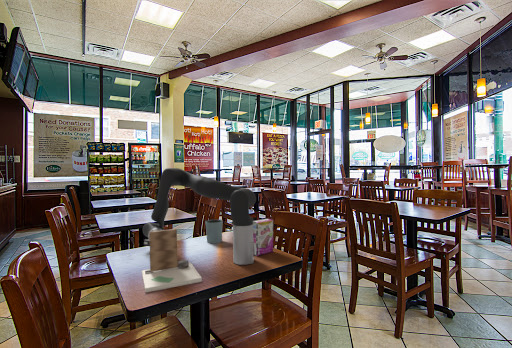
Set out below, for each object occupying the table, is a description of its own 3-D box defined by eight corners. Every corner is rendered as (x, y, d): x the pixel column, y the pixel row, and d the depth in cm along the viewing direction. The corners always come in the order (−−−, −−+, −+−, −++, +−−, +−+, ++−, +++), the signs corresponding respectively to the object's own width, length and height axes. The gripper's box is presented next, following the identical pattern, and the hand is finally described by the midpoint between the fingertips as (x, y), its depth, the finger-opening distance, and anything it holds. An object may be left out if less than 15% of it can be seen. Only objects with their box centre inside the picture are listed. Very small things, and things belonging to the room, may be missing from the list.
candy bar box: (257, 256, 135) (256, 222, 135) (250, 254, 139) (250, 221, 138) (274, 251, 143) (273, 219, 142) (267, 249, 146) (266, 218, 146)
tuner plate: (190, 266, 124) (190, 262, 124) (201, 281, 107) (201, 277, 107) (141, 274, 115) (141, 270, 115) (145, 292, 98) (145, 288, 98)
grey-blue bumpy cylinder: (209, 244, 156) (208, 223, 156) (203, 240, 165) (202, 220, 165) (225, 242, 161) (225, 221, 161) (219, 238, 170) (219, 218, 169)
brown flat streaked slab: (187, 263, 121) (186, 226, 121) (189, 267, 117) (188, 228, 117) (144, 270, 114) (143, 231, 113) (145, 274, 110) (144, 233, 109)
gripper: (141, 230, 133) (144, 239, 117) (170, 227, 139) (176, 235, 123) (142, 246, 133) (144, 256, 118) (171, 242, 139) (177, 252, 123)
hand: (161, 245), depth 120 cm, fingers closed
